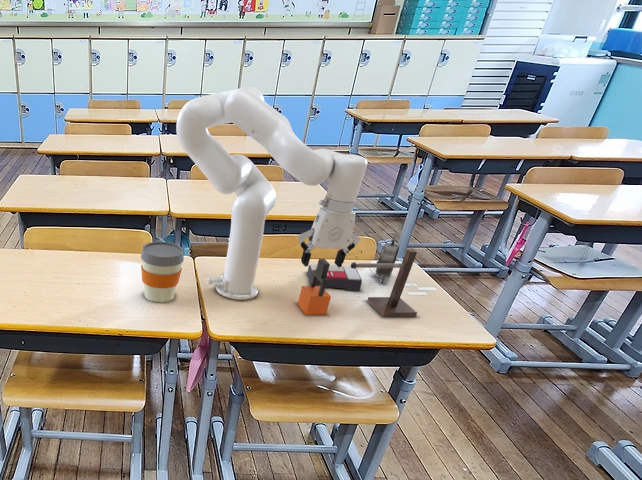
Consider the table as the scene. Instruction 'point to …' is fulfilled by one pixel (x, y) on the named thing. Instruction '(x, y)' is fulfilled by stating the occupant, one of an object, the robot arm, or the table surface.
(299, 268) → the table surface
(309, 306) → the orange square box
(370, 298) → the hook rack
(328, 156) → the robot arm
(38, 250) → the table surface
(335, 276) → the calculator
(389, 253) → the alarm clock
